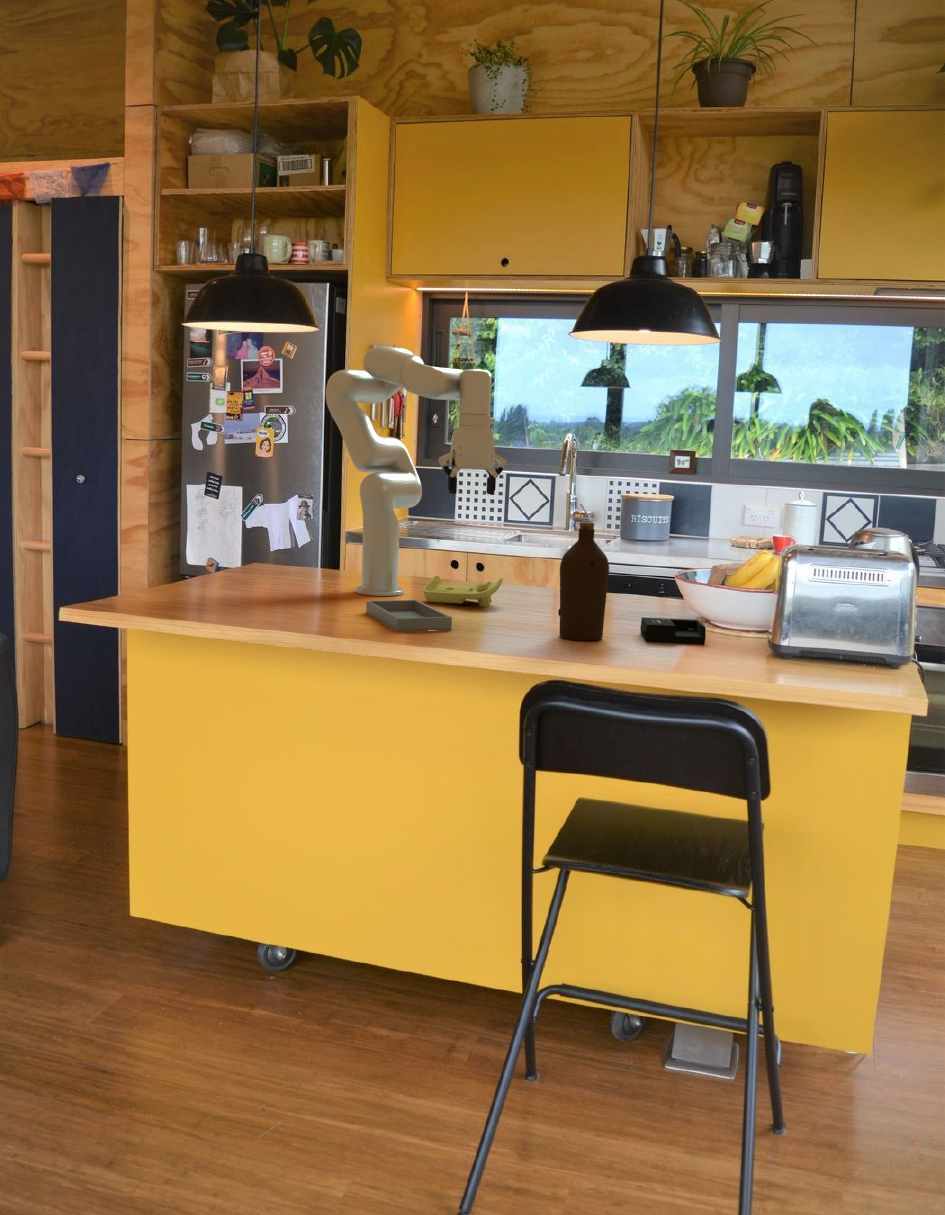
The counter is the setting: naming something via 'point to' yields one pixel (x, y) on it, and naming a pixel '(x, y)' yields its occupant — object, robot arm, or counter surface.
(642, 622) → the battery charger
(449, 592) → the plastic component
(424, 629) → the tray
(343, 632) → the counter surface
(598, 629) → the olive oil
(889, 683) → the counter surface
